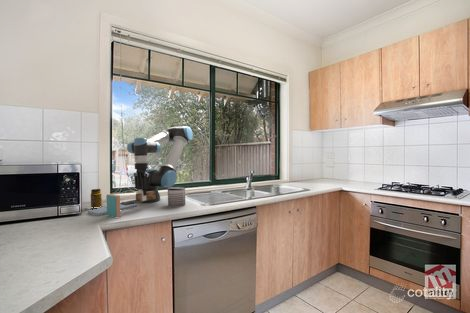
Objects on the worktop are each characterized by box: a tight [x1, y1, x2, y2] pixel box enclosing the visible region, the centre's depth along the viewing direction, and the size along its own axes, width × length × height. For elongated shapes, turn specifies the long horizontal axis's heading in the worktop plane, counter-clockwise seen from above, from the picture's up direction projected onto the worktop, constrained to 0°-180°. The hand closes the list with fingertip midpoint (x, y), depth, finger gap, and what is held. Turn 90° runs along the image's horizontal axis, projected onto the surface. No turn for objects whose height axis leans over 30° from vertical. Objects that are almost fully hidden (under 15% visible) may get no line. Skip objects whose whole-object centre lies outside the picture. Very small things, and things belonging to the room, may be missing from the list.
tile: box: [105, 193, 122, 218], centre depth 126 cm, size 2×10×12 cm, turn 57°
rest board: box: [87, 203, 138, 217], centre depth 141 cm, size 24×13×2 cm, turn 147°
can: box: [167, 186, 186, 208], centre depth 150 cm, size 11×11×12 cm
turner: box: [120, 191, 156, 205], centre depth 139 cm, size 21×6×5 cm, turn 147°
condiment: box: [90, 188, 103, 208], centre depth 148 cm, size 7×8×12 cm
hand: (142, 200), depth 141 cm, fingers closed on turner, 3 cm apart
